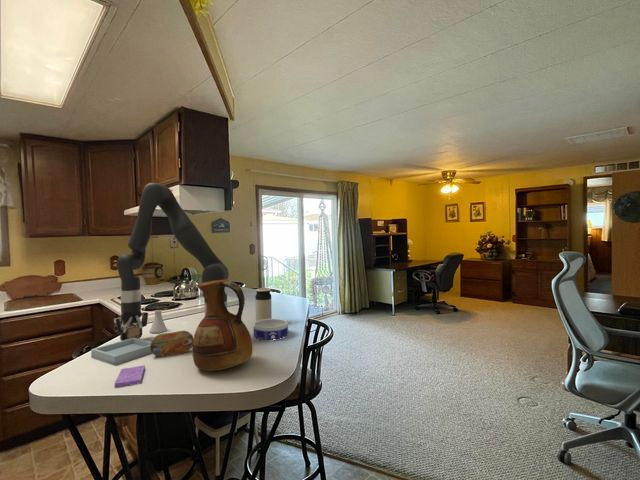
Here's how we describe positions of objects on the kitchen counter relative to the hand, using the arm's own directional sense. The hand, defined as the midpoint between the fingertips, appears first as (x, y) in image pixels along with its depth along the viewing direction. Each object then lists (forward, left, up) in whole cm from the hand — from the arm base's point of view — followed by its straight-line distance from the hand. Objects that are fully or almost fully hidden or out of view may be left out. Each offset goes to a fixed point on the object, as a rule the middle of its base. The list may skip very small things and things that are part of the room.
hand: (131, 339), depth 140 cm
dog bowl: (-48, -35, -2) cm, 59 cm away
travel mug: (-33, -48, -1) cm, 58 cm away
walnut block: (0, 0, -1) cm, 1 cm away
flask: (+4, -15, -1) cm, 16 cm away
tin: (-29, +1, -1) cm, 29 cm away
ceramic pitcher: (-55, 0, -1) cm, 55 cm away
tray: (-13, +10, -1) cm, 16 cm away
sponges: (-36, +21, -2) cm, 42 cm away
